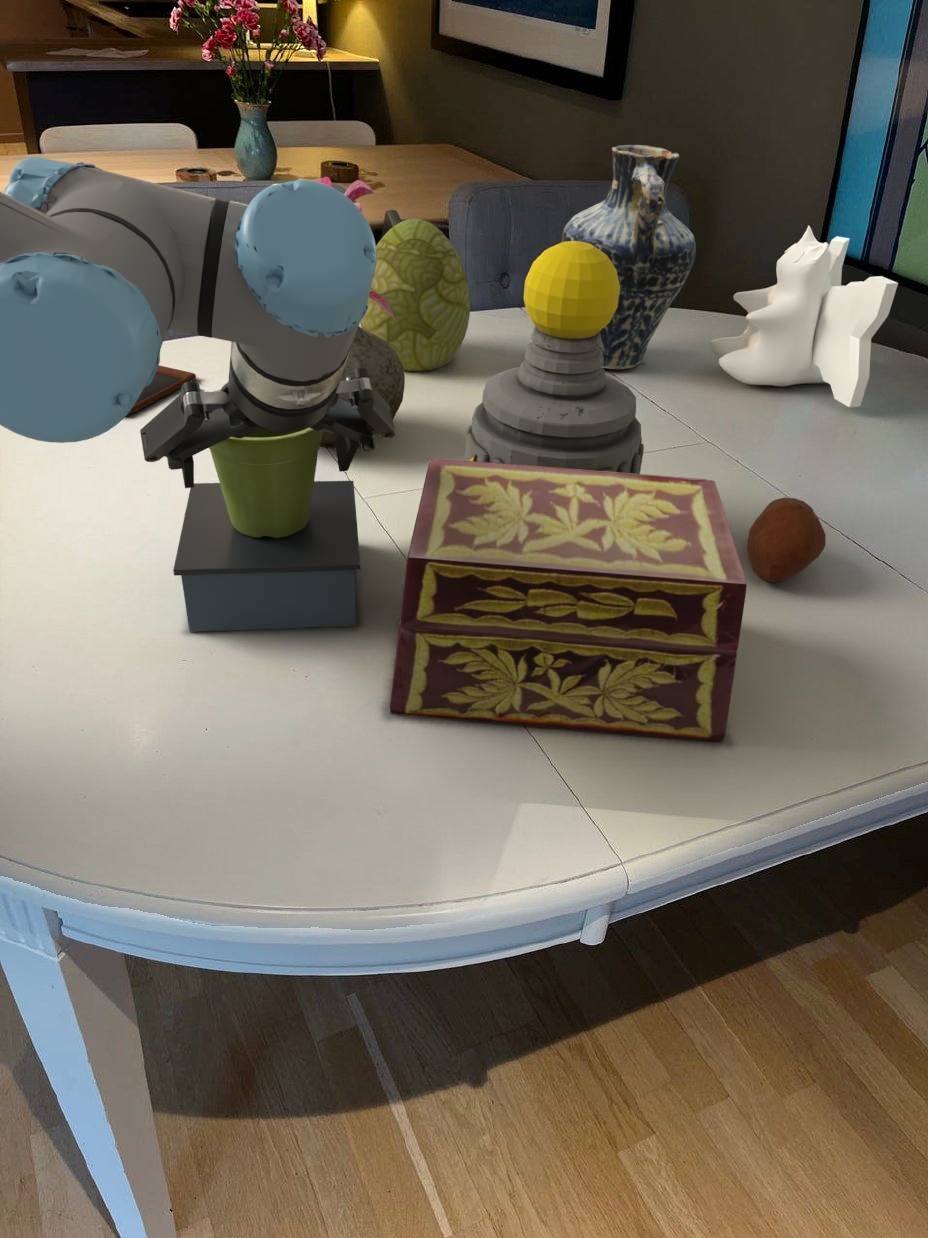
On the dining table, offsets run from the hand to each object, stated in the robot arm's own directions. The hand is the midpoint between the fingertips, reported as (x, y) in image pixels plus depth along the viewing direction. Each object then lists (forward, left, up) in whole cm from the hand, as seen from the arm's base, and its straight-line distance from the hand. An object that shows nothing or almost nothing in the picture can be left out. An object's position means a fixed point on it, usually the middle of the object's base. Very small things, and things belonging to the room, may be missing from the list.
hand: (265, 465), depth 85 cm
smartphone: (-19, +49, -13) cm, 54 cm away
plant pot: (0, +1, -6) cm, 7 cm away
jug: (+50, +61, -13) cm, 80 cm away
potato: (+52, +1, -13) cm, 54 cm away
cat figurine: (+74, +53, -13) cm, 92 cm away
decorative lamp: (+29, +11, -13) cm, 34 cm away
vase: (+7, +35, -13) cm, 38 cm away
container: (0, +1, -13) cm, 13 cm away
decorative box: (+25, -13, -13) cm, 31 cm away
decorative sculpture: (+19, +62, -13) cm, 66 cm away
